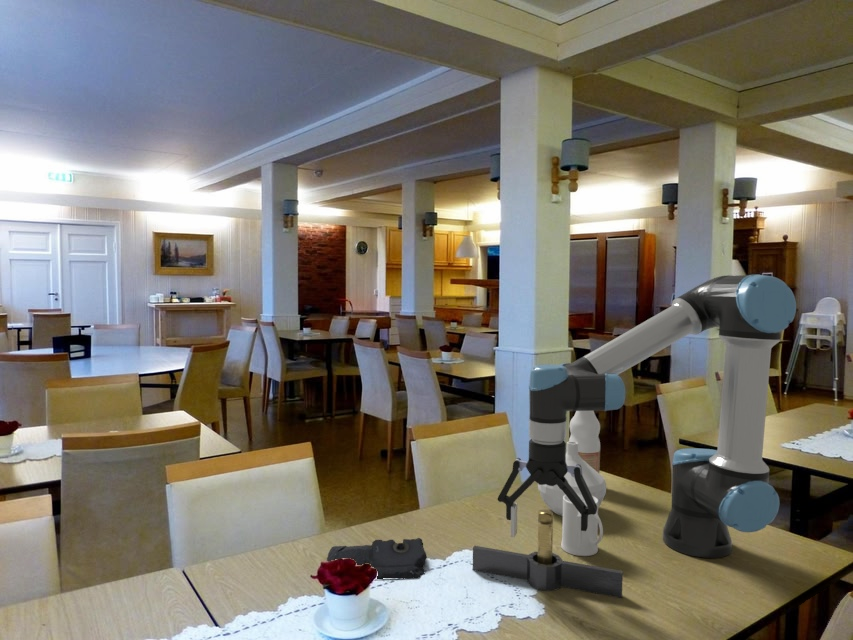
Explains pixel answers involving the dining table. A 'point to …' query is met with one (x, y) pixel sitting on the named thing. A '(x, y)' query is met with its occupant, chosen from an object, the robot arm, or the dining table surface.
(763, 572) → the dining table surface
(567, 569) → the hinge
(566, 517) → the mug
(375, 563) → the dark slate chunk
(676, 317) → the robot arm
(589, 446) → the fruit juice
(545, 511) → the pin
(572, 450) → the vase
